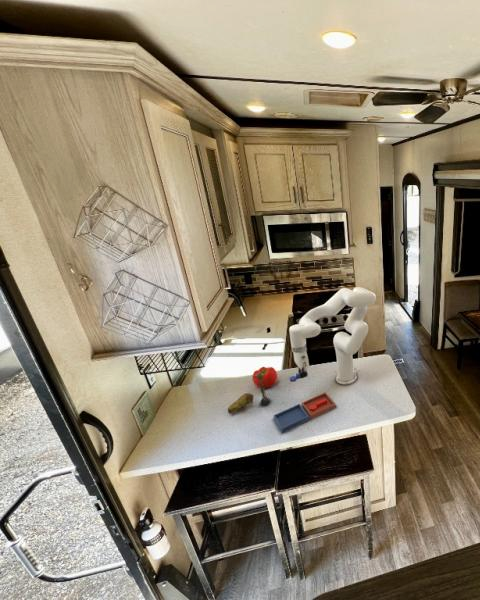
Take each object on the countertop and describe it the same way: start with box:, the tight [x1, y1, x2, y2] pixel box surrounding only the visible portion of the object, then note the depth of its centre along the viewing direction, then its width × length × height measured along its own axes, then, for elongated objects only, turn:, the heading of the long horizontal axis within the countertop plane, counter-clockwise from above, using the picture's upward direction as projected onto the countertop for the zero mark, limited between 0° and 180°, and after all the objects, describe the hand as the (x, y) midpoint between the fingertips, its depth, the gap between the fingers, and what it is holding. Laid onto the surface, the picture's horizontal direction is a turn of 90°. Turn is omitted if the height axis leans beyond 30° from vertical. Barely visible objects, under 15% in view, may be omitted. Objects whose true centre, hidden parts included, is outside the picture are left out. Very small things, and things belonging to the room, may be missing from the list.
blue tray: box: [273, 403, 310, 434], centre depth 171 cm, size 14×12×3 cm
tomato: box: [252, 366, 278, 389], centre depth 196 cm, size 14×13×10 cm
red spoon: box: [310, 398, 327, 411], centre depth 179 cm, size 10×4×2 cm, turn 128°
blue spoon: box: [289, 370, 309, 383], centre depth 178 cm, size 10×4×2 cm, turn 127°
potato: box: [227, 392, 254, 414], centre depth 178 cm, size 8×13×8 cm, turn 109°
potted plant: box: [252, 373, 271, 407], centre depth 179 cm, size 6×5×20 cm
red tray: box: [301, 392, 337, 420], centre depth 179 cm, size 14×12×3 cm
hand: (302, 376), depth 180 cm, fingers closed on blue spoon, 1 cm apart
